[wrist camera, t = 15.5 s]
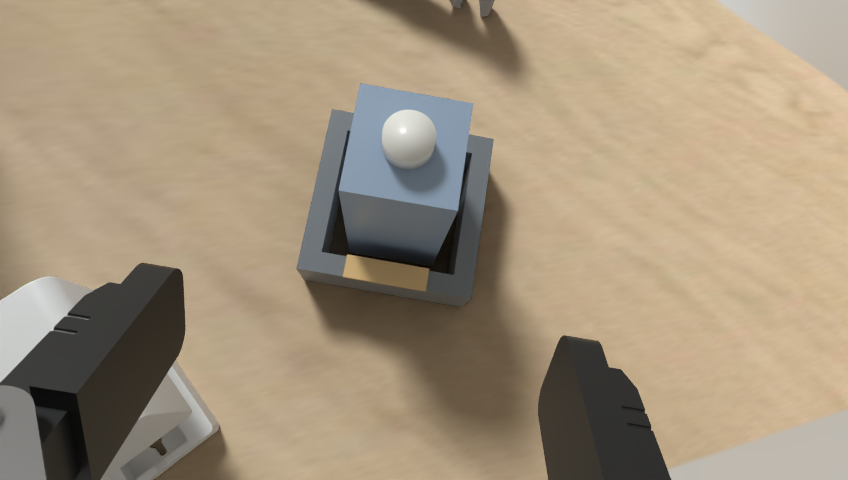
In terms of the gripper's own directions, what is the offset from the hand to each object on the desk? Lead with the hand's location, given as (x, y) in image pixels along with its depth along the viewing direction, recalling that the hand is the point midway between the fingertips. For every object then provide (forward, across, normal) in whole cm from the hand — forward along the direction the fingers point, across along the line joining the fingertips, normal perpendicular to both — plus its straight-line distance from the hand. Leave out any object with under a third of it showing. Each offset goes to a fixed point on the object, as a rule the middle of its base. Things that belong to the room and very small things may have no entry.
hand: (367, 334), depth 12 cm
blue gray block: (+18, 0, +7) cm, 20 cm away
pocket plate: (+18, 0, +7) cm, 20 cm away
